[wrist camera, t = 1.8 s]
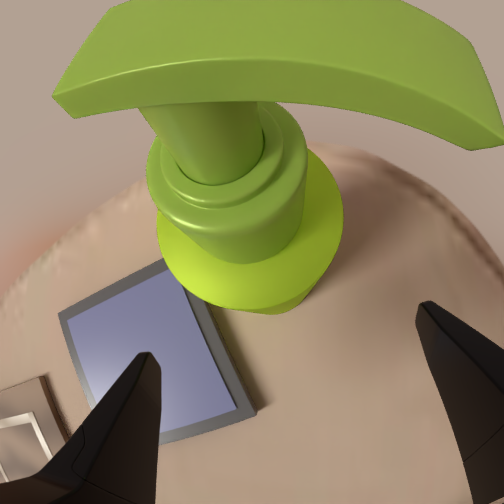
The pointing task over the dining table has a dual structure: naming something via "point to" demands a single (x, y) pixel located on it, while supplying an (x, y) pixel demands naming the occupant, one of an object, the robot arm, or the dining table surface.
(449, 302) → the dining table surface
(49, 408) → the board
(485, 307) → the dining table surface
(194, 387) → the ink pad
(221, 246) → the soap dispenser
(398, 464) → the dining table surface
